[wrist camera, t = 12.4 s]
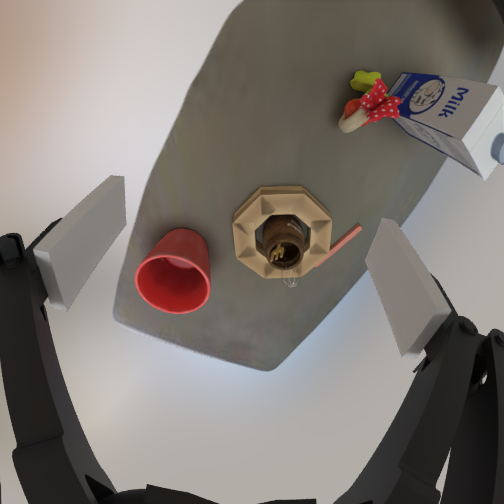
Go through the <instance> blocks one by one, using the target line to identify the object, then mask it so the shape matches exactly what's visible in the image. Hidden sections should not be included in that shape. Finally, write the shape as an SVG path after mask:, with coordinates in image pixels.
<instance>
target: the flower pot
mask: <svg viewBox="0 0 504 504" xmlns="http://www.w3.org/2000/svg"><path fill="white" fill-rule="evenodd" d="M135 285H136V288H137V290H138V292H139V294H140V295H141V296H142V298H143V299H144V300H145V301H146V302H148V303H149V304H150V305H152V306H153V307H155V308H157V309H159V310H162V311H165V312H168V313H175V314H183V313H189V312H192V311H195V310H197V309H199V308H200V307H201V306H203V305H204V304H205V302H206V301H207V299H208V298H209V295H210V290H211V279H210V265H209V256H208V248H207V245H206V242H205V240H204V239H203V238H202V237H201V236H200V235H199V234H198V233H196V232H194V231H192V230H189V229H182V228H181V229H175V230H172V231H170V232H169V233H167V234H166V235H165V236H164V237H163V238H162V239H161V240H160V241H159V242H158V243H157V244H156V246H155V247H154V248H153V249H152V250H151V251H150V252H149V254H148V255H147V256H146V257H145V258H144V260H143V261H142V262H141V263H140V265H139V266H138V268H137V270H136V273H135Z"/></svg>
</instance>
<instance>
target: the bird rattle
mask: <svg viewBox="0 0 504 504" xmlns="http://www.w3.org/2000/svg"><path fill="white" fill-rule="evenodd" d="M350 84H351V86H352V88H353V89H354V90H358V91H363V92H366V93H365V94H364V95H363V96H362V97H361V98H360V99H353V100H350V101H349V102H348V103H347V104H346V106H345V108H344V113H343V116H342V117H341V118H340V120H339V122H338V127H339V128H340V129H341V131H343V132H344V133H349V132H352V131H353V130H355V129H357V128H358V127H360V126H364V125H366V124H368V123H369V122H376V121H378V120H380V119H381V118H382V117H389V118H398V117H399V110H398V108H397V105H399V104H400V103H401V99H400V98H399V97H395V96H389V95H388V94H386V92H387V90H388V88H387V87H386V86H385V84H384V83H383V81H382V80H381V74H380V73H379V72H370V73H367V72H365V71H362V70H360V71H357V72H356V73H355V76H354V79H352V80H350Z"/></svg>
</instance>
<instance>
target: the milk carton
mask: <svg viewBox="0 0 504 504" xmlns="http://www.w3.org/2000/svg"><path fill="white" fill-rule="evenodd" d="M387 94H388V95H389V96H395V97H399V98H400V99H401V103H400V104H399V105H397V108H398V110H399V117H398V118H392V119H393V120H394V121H395V122H396V123H397V124H398V125H399V126H400V127H402V128H403V129H404V130H405V131H406V132H407V133H408V134H409V135H410V136H412V137H414V138H416V139H418V140H420V141H422V142H424V143H425V144H427V145H429V146H431V147H433V148H434V149H436V150H438V151H440V152H441V153H443V154H445V155H447V156H448V157H450V158H452V159H453V160H455V161H457V162H458V163H460V164H462V165H463V166H465V167H466V168H468V169H469V170H471V171H472V172H474V173H475V174H477V175H479V176H480V177H481V178H482V179H483V180H484V181H485V180H486V179H487V177H488V176H489V175H490V173H491V172H492V170H493V169H494V168H495V166H496V165H497V163H498V162H499V163H500V164H502V165H504V95H503V93H502V91H501V90H500V87H499V86H495V85H490V84H485V83H481V82H476V81H470V80H464V79H458V78H452V77H445V76H437V75H428V74H418V73H406V72H403V73H402V74H401V76H400V77H399V78H398V80H397V81H396V82H395V84H394V85H393V86H392V88H391V89H390V90H389V91H388V93H387Z"/></svg>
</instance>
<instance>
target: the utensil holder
mask: <svg viewBox="0 0 504 504" xmlns="http://www.w3.org/2000/svg"><path fill="white" fill-rule="evenodd" d="M304 246H305V242H304V236H303V231H302V228H301V225H300V223H299V222H298V221H297V220H296V219H295V218H294V217H292V216H290V215H287V214H280V215H275V216H273V217H271V218H270V219H269V220H268V221H267V222H266V224H265V226H264V229H263V248H264V251H265V254H266V258H267V261H268V263H269V264H270V265H271V266H272V267H274V268H276V269H278V270H281V271H282V270H291V269H294V268H295V267H297V266H298V265H299V264H300V263H301V261H302V259H303V256H304ZM297 269H298V268H297ZM295 270H296V269H295ZM296 272H297V271H296ZM291 273H292V272H291ZM287 274H288V272H287ZM298 274H299V272H298ZM298 274H297V275H298ZM281 275H282V273H281ZM294 276H295V273H294ZM282 277H283V275H282ZM292 277H293V276H292ZM288 278H289V277H288ZM283 280H284V279H282V281H283ZM286 280H287V278H286ZM289 281H290V280H289ZM294 281H295V277H294V280H293V282H294ZM298 281H299V278H298ZM284 282H285V281H284ZM285 283H286V282H285ZM290 283H291V282H290ZM297 283H298V282H297ZM297 283H296V284H297ZM283 284H284V283H283ZM286 284H287V283H286ZM293 284H294V283H293ZM296 284H295V285H296ZM298 284H299V283H298ZM287 285H288V284H287ZM289 286H290V285H289ZM293 286H294V285H292V286H290V287H293ZM286 287H287V286H286ZM288 288H289V287H288ZM293 288H294V287H293Z"/></svg>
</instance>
